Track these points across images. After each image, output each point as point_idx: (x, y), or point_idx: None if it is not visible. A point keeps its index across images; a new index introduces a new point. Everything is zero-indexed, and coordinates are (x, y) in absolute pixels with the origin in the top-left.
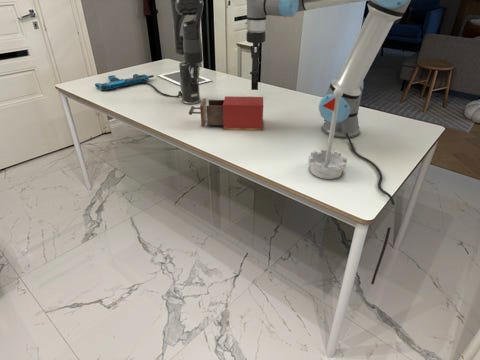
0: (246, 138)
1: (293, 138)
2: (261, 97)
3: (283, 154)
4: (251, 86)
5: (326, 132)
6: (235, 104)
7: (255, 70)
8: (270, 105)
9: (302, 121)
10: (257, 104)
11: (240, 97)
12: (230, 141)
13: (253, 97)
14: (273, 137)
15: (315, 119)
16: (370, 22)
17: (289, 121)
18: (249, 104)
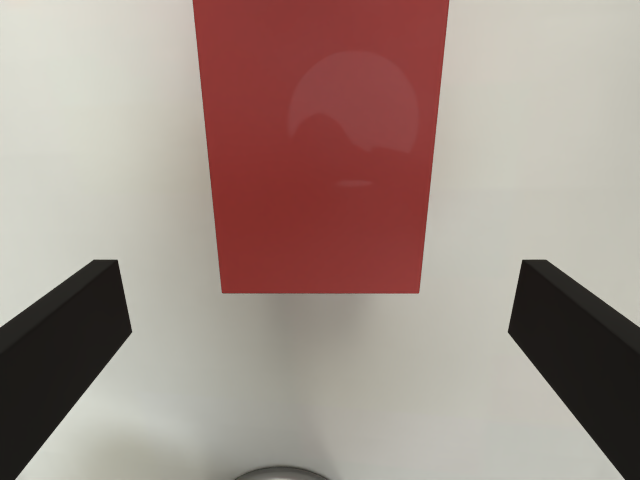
0: (136, 142)
1: (182, 358)
2: (404, 280)
3: (16, 312)
4: (68, 280)
5: (247, 476)
6: (211, 49)
7: (602, 389)
8: (613, 273)
9: (372, 405)
10: (237, 251)
11: (412, 91)
12: (75, 45)
13: (408, 216)
14: (176, 277)
15: (395, 452)
16: None
17: (372, 354)
18: (228, 186)
